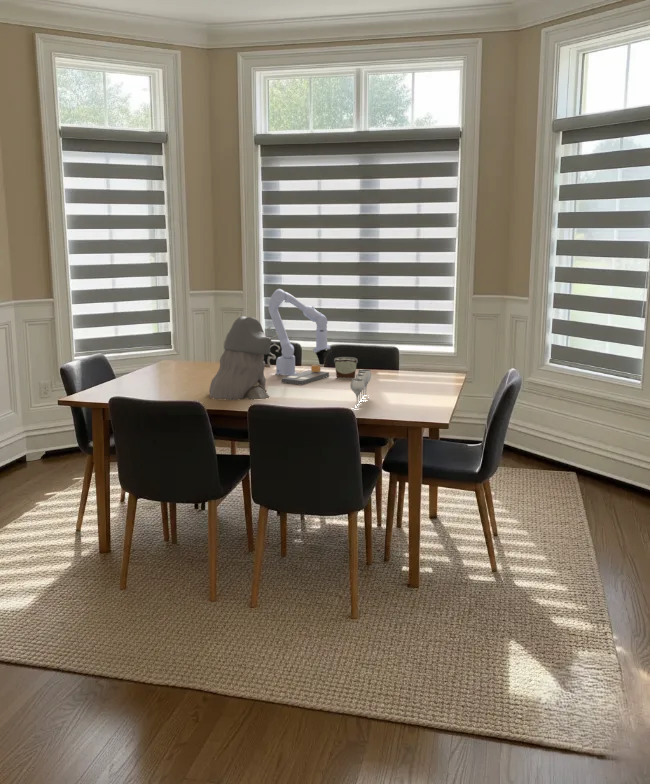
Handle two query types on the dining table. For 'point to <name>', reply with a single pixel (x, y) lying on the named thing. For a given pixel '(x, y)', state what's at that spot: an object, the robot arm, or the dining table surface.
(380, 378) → the dining table surface
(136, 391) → the dining table surface
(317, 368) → the fader
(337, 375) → the food container
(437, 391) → the dining table surface
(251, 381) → the bust
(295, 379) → the console
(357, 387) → the goblet set
